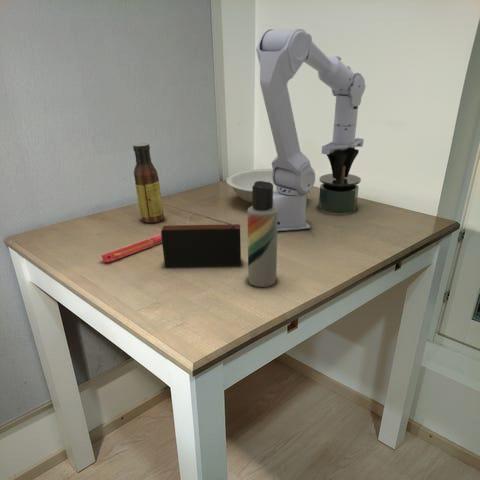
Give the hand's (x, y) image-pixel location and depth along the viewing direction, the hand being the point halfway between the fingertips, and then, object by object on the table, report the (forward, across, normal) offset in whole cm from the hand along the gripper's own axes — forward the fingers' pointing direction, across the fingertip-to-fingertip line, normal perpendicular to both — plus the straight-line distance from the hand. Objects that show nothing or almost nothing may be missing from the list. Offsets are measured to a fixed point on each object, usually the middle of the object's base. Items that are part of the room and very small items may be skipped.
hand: (340, 177), depth 129 cm
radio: (+9, -51, -4) cm, 52 cm away
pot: (+9, 0, 0) cm, 9 cm away
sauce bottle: (+9, -44, +28) cm, 53 cm away
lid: (+1, 0, 0) cm, 1 cm away
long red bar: (+9, -54, +12) cm, 57 cm away
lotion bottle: (+9, -46, -20) cm, 51 cm away
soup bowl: (+9, -10, +18) cm, 23 cm away
